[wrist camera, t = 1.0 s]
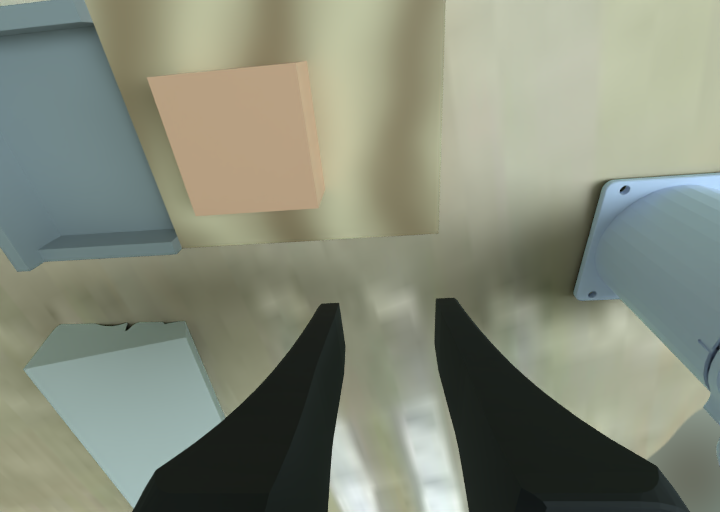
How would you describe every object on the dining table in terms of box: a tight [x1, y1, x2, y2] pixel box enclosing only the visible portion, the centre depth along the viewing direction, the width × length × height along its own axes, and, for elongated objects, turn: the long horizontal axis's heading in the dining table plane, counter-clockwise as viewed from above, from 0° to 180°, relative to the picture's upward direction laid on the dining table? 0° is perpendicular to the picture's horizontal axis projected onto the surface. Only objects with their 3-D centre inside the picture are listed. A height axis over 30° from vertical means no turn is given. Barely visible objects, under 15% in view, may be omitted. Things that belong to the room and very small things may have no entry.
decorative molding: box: [23, 321, 225, 508], centre depth 34 cm, size 34×5×10 cm
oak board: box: [84, 0, 446, 248], centre depth 18 cm, size 15×12×2 cm
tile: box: [147, 61, 325, 216], centre depth 16 cm, size 6×6×2 cm
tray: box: [0, 0, 182, 272], centre depth 18 cm, size 9×12×3 cm
